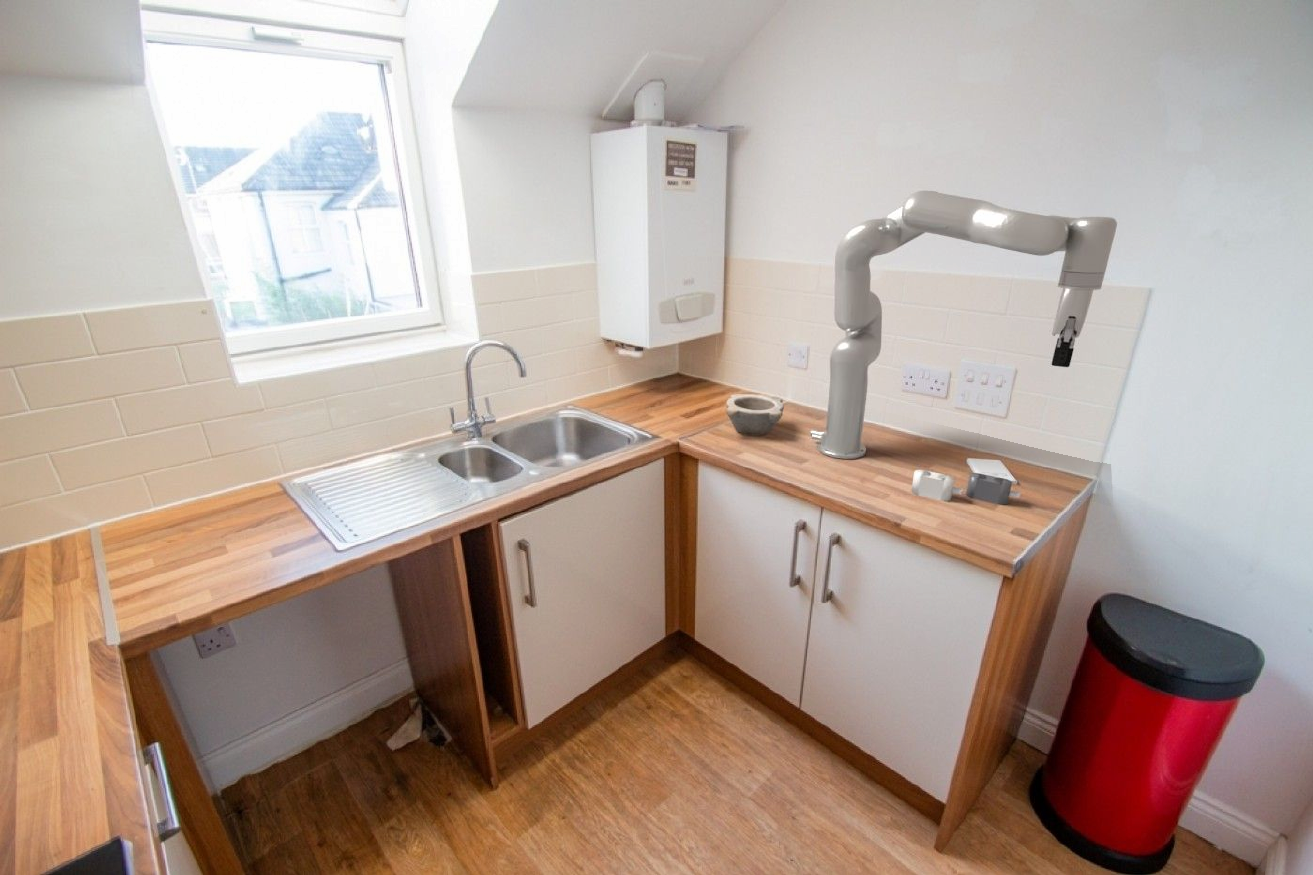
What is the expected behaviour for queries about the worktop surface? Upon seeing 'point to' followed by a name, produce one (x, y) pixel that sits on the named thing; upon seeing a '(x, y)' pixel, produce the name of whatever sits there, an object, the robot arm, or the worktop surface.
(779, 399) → the mortar
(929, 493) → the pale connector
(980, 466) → the external hard drive
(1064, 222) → the robot arm
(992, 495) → the charcoal connector
